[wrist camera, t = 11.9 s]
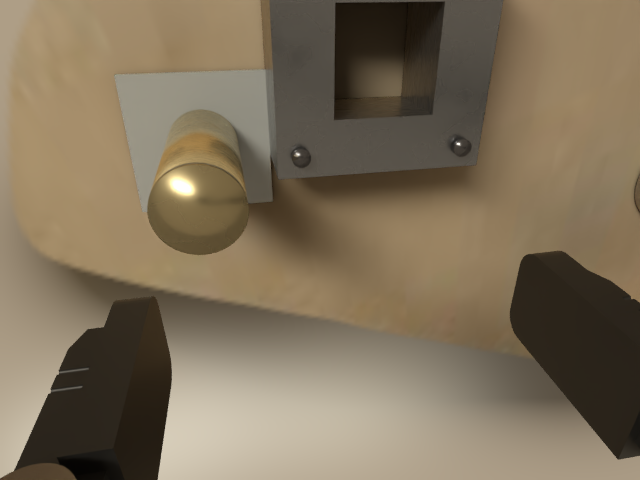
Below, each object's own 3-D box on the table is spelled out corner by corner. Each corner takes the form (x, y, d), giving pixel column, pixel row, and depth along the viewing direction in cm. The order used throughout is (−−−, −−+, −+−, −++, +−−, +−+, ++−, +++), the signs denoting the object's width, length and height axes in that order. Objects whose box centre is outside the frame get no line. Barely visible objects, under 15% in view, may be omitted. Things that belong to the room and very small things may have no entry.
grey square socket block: (466, -64, 31) (521, -75, 25) (440, 140, 38) (480, 167, 32) (256, -67, 29) (266, -80, 23) (269, 151, 36) (279, 182, 30)
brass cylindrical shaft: (235, 107, 33) (245, 161, 23) (241, 173, 36) (252, 249, 25) (162, 111, 32) (138, 168, 22) (173, 178, 35) (156, 259, 24)
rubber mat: (264, 69, 33) (265, 70, 32) (272, 199, 37) (272, 201, 37) (115, 74, 31) (114, 75, 31) (143, 210, 36) (142, 212, 35)
